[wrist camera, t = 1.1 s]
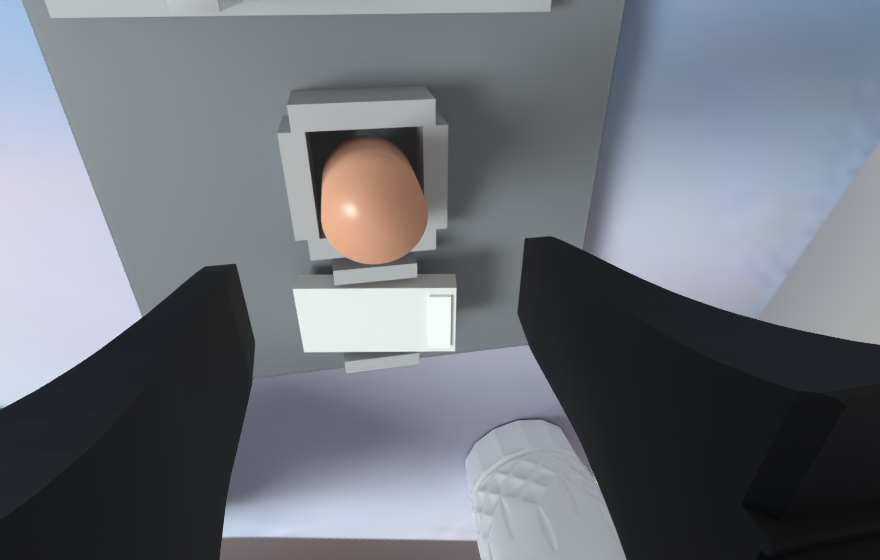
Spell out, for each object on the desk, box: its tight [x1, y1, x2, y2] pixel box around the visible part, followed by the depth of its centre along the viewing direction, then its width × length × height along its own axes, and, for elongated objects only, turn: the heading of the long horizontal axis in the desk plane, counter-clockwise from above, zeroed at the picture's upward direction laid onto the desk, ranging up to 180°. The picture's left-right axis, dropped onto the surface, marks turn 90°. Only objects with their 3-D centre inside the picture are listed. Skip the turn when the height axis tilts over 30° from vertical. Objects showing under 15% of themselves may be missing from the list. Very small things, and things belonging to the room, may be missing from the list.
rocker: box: [293, 274, 456, 352], centre depth 20 cm, size 3×6×1 cm, turn 90°
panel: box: [22, 0, 625, 378], centre depth 18 cm, size 19×18×4 cm
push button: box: [321, 135, 428, 264], centre depth 15 cm, size 3×3×3 cm
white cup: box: [465, 420, 626, 560], centre depth 27 cm, size 8×8×10 cm
